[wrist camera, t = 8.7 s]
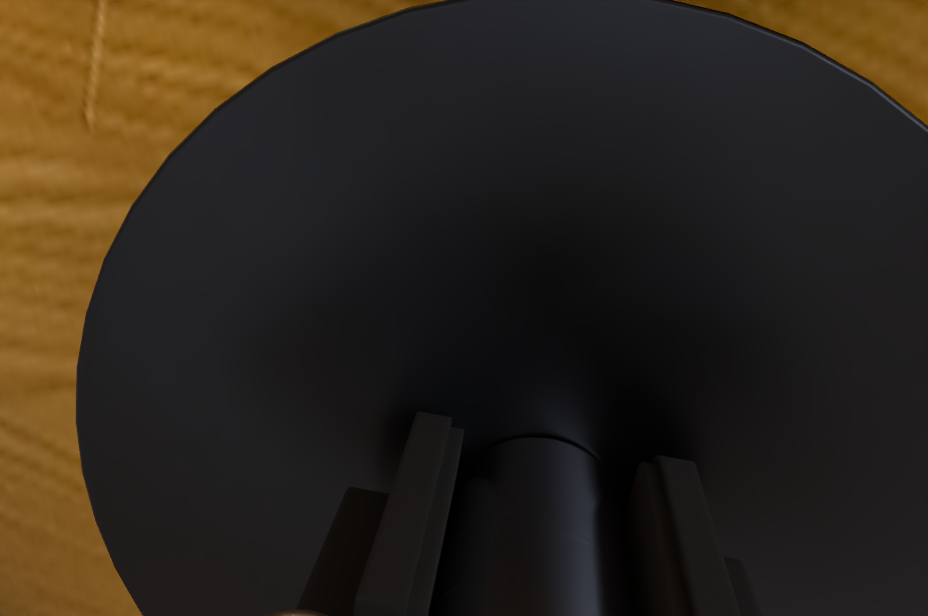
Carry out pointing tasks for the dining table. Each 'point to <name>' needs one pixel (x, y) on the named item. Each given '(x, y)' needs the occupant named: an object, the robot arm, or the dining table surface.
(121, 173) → the dining table surface
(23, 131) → the dining table surface
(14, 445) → the dining table surface
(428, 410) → the pot lid
